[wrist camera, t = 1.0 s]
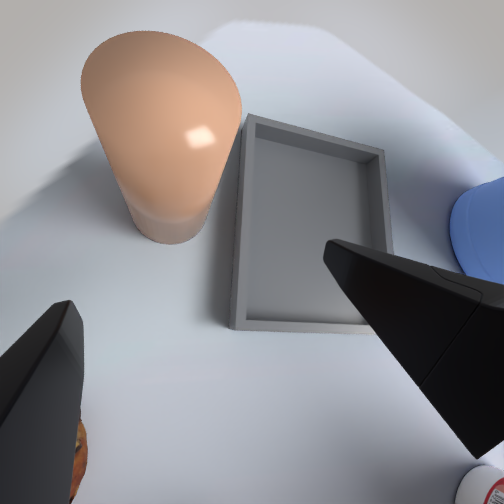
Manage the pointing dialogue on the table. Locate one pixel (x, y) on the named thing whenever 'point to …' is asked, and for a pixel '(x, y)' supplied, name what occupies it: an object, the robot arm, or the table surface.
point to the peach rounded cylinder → (162, 127)
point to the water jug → (480, 231)
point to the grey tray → (302, 226)
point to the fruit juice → (482, 486)
